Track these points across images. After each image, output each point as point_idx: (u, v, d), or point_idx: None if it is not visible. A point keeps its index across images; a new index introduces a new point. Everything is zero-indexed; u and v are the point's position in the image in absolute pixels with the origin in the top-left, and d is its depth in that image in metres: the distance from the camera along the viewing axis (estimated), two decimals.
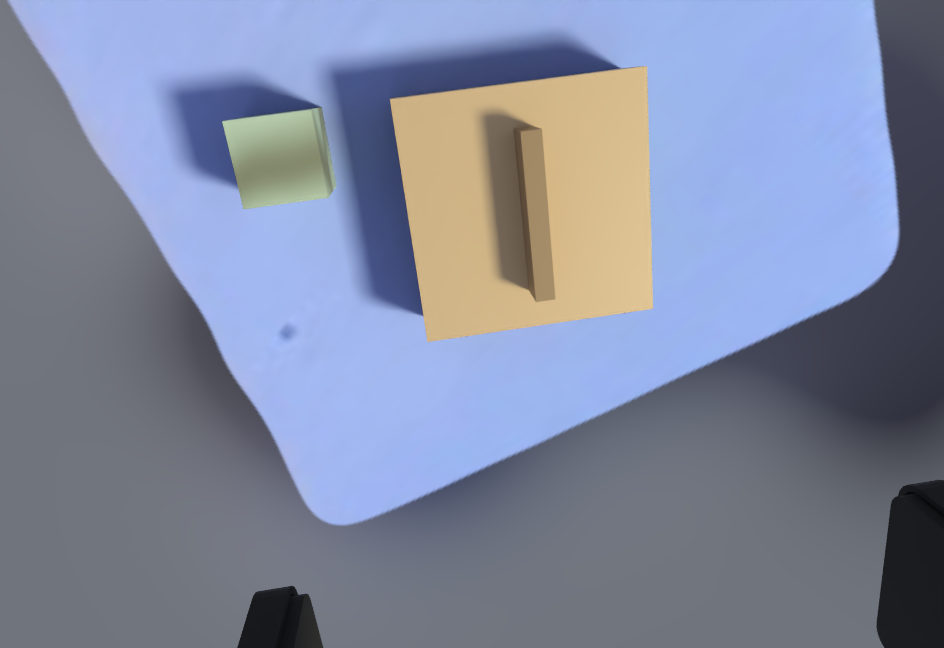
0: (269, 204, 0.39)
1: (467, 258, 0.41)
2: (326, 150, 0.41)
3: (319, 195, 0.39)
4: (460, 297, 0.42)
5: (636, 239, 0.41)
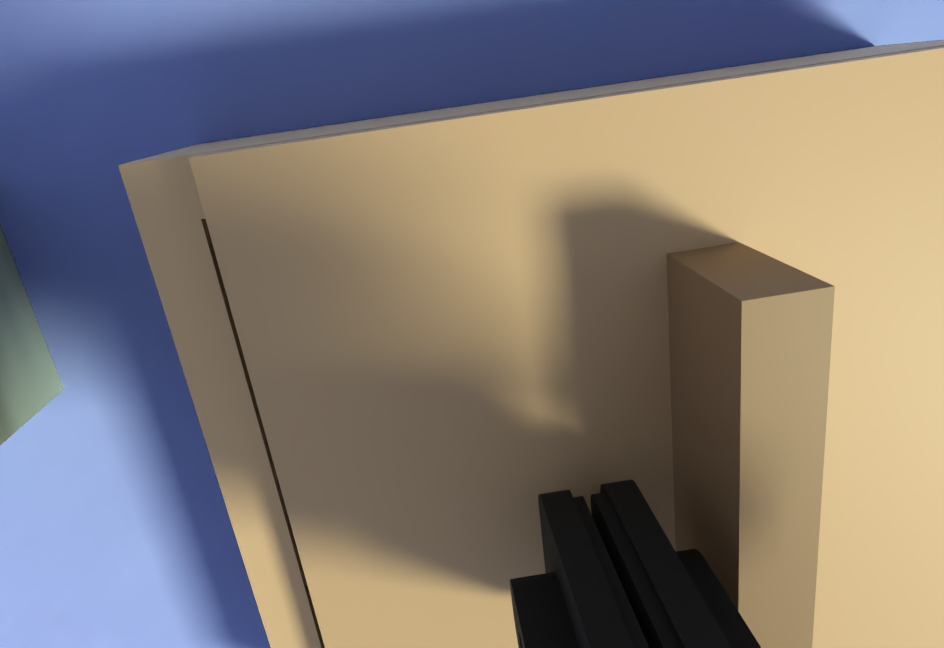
0: None
1: (496, 643, 0.13)
2: None
3: None
4: None
5: None
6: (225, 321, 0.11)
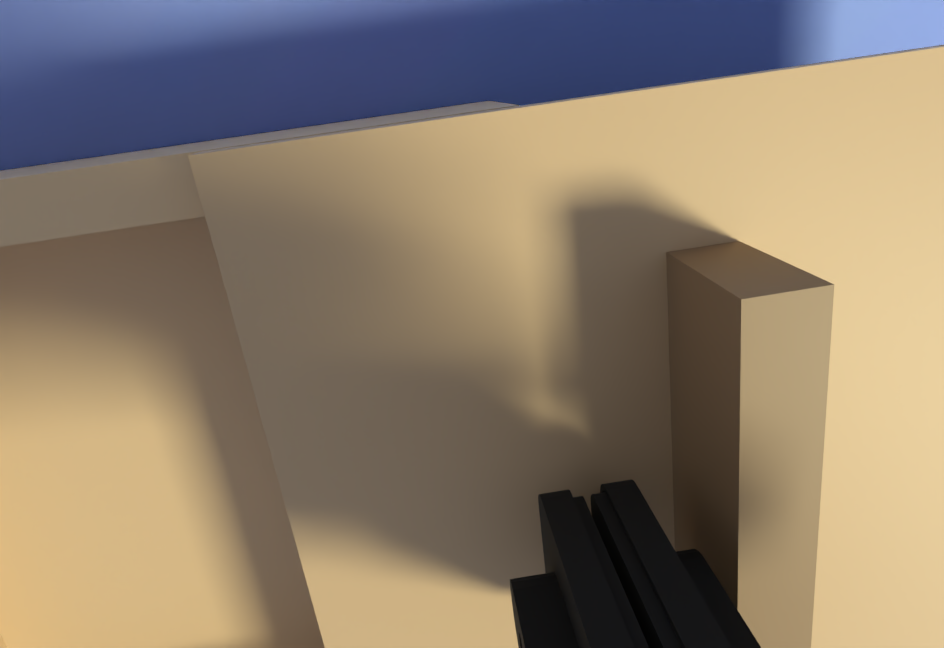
0: None
1: (495, 642, 0.13)
2: None
3: None
4: None
5: None
6: None
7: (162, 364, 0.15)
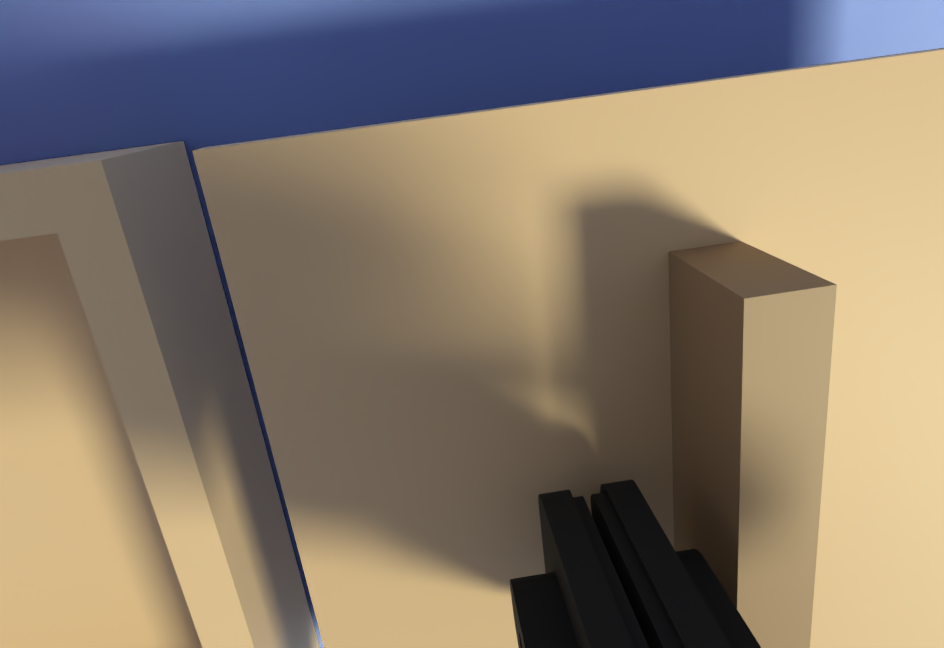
0: None
1: (494, 641, 0.13)
2: None
3: None
4: None
5: None
6: None
7: None
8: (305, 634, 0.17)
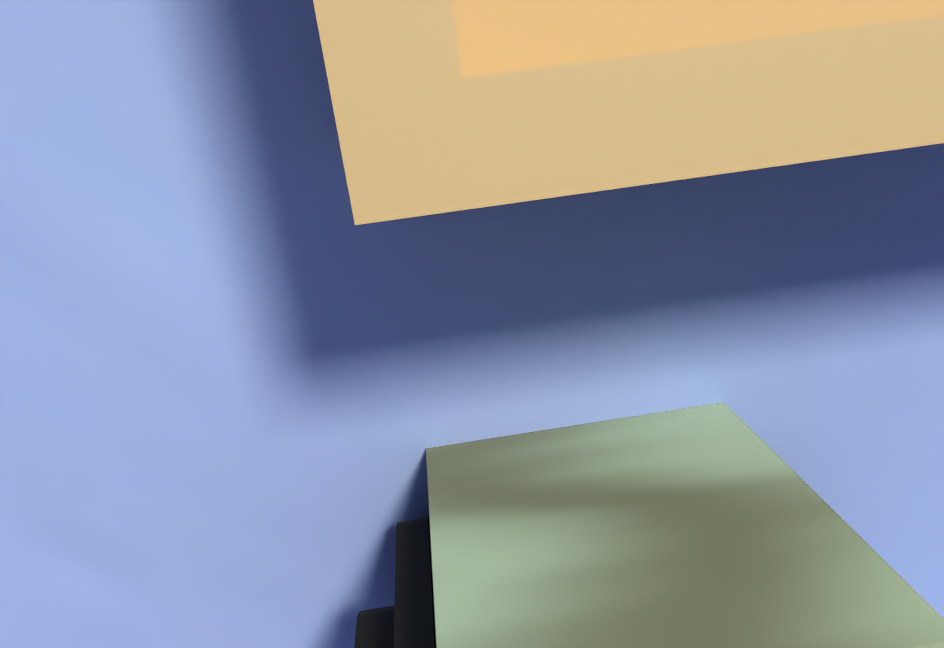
0: None
1: None
2: (610, 483, 0.09)
3: None
4: None
5: None
6: (685, 59, 0.05)
7: None
8: None
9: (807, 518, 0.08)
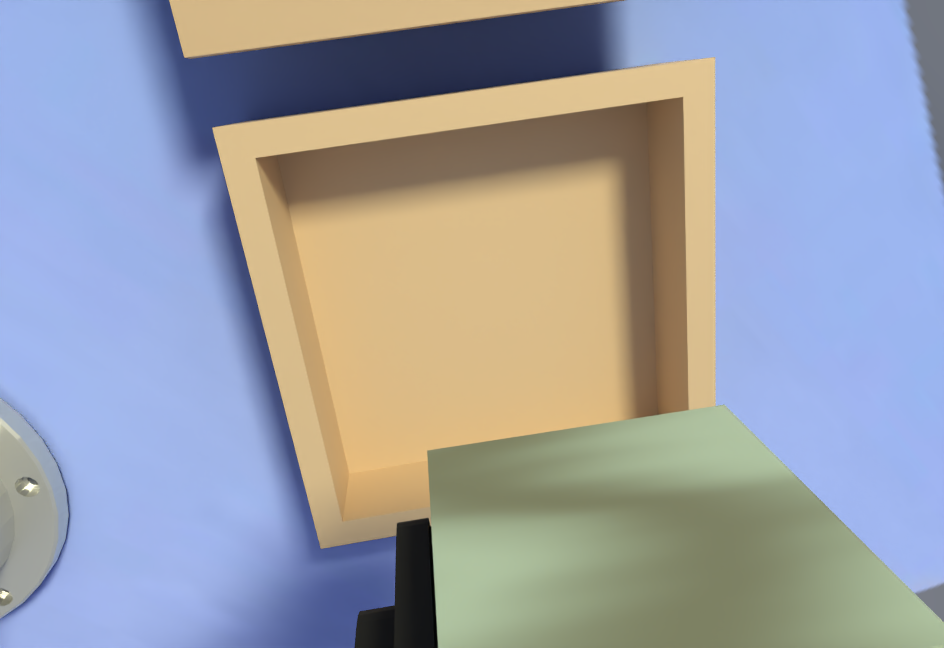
0: None
1: None
2: (611, 485, 0.09)
3: None
4: None
5: None
6: (390, 515, 0.24)
7: (410, 324, 0.25)
8: (610, 70, 0.22)
9: (808, 521, 0.08)
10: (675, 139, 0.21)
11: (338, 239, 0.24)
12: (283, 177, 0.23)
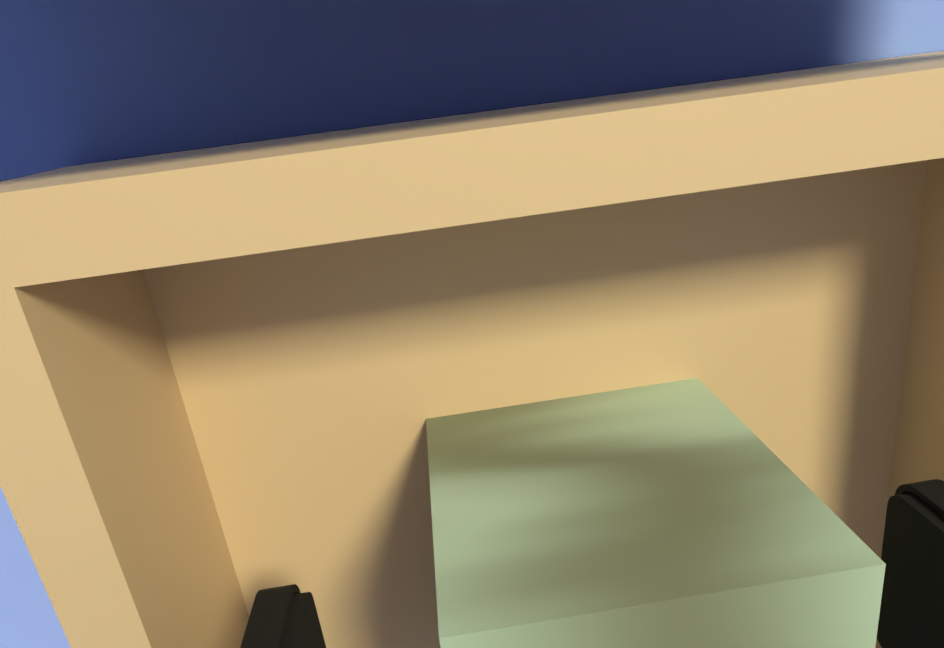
0: None
1: None
2: (591, 446, 0.10)
3: (865, 601, 0.07)
4: None
5: None
6: None
7: (422, 558, 0.13)
8: (866, 63, 0.10)
9: (763, 473, 0.09)
10: None
11: (275, 409, 0.11)
12: (152, 288, 0.10)
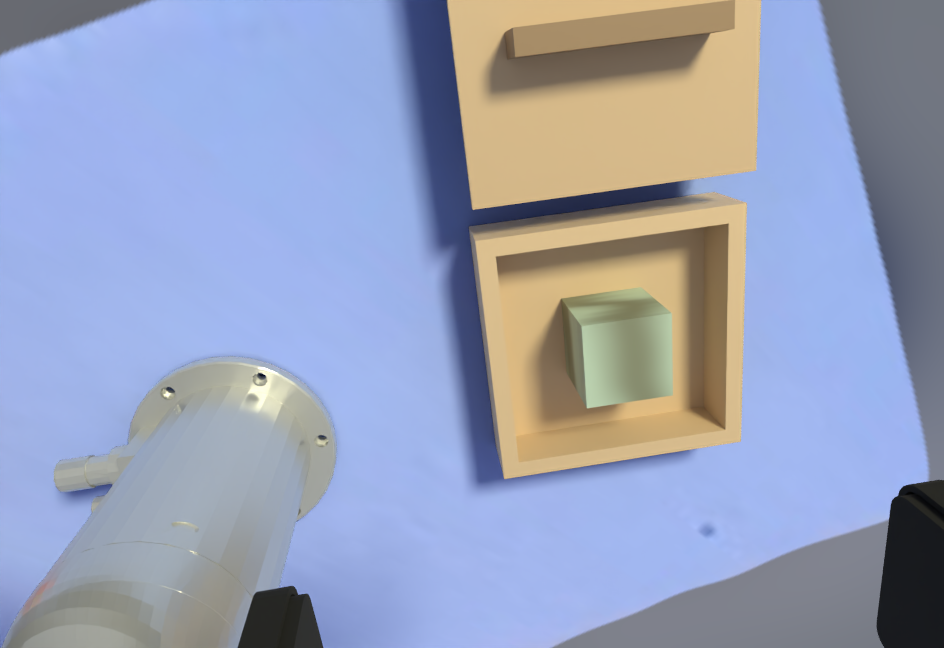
0: (671, 371, 0.37)
1: (659, 119, 0.33)
2: (610, 301, 0.38)
3: (668, 321, 0.36)
4: (707, 127, 0.33)
5: None
6: (547, 459, 0.40)
7: (556, 344, 0.41)
8: (683, 199, 0.39)
9: (652, 303, 0.37)
10: (722, 243, 0.37)
11: (519, 294, 0.40)
12: None
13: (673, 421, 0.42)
